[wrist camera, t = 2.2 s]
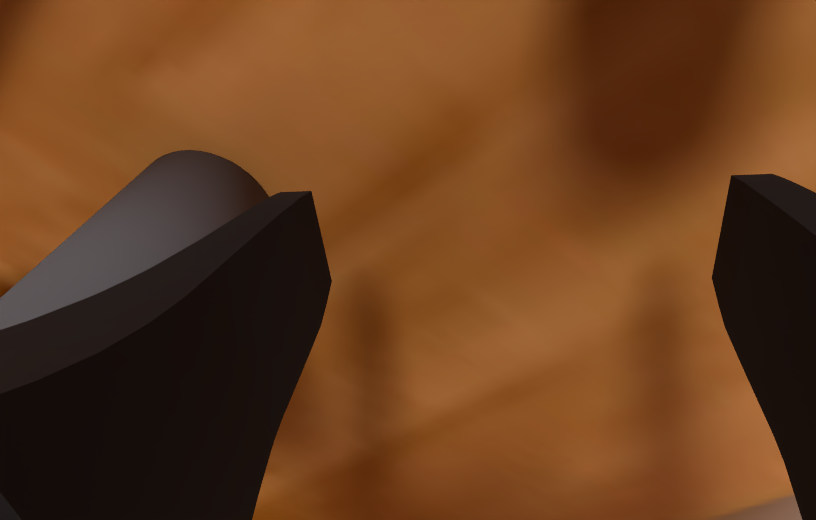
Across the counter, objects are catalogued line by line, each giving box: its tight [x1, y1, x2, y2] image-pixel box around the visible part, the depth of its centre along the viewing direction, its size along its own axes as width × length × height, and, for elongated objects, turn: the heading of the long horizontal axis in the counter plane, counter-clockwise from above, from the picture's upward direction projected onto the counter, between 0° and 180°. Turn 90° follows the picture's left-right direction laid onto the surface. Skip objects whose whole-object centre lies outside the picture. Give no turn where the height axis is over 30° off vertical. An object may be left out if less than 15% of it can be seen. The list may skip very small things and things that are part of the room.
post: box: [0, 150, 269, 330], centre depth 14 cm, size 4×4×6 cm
